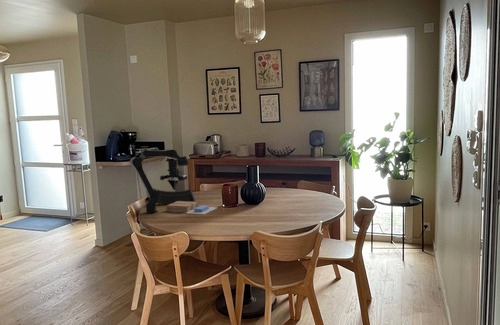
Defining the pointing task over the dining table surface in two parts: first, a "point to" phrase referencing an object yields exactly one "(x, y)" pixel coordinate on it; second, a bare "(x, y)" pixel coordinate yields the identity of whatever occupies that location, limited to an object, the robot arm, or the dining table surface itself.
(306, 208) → the dining table surface
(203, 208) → the card box
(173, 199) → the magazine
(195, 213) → the mat
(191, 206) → the board
